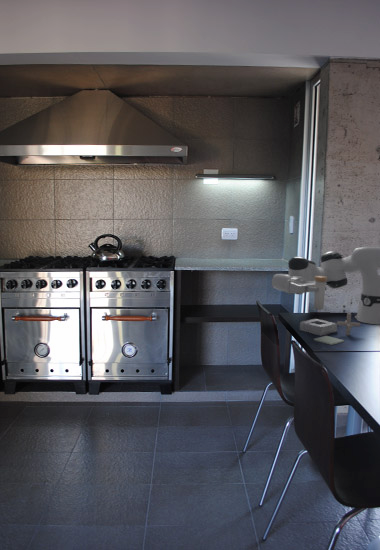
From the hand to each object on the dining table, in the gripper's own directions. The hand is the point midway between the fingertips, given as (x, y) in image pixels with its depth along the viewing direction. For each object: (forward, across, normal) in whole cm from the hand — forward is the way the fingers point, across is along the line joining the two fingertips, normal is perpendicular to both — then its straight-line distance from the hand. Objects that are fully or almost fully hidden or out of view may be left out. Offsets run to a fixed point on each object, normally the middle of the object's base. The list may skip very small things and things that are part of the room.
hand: (321, 289), depth 208 cm
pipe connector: (+11, -6, -20) cm, 24 cm away
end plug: (-1, 0, -9) cm, 9 cm away
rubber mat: (+12, +9, -20) cm, 25 cm away
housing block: (-1, 0, -20) cm, 20 cm away
